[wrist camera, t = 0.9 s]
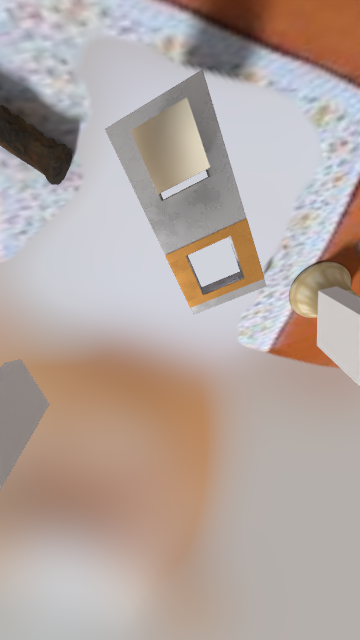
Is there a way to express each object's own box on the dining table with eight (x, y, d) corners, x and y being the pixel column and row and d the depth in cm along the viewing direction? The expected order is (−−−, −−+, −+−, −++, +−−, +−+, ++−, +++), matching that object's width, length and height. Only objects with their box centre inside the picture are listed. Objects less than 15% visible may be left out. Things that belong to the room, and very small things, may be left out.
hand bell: (360, 291, 34) (484, 366, 20) (307, 326, 37) (384, 413, 23) (332, 248, 31) (454, 300, 17) (277, 290, 34) (343, 364, 20)
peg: (184, 131, 25) (186, 97, 15) (198, 172, 27) (210, 167, 17) (150, 151, 26) (129, 130, 16) (166, 189, 28) (158, 194, 18)
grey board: (200, 80, 23) (202, 68, 21) (260, 279, 33) (266, 286, 31) (111, 133, 25) (104, 128, 23) (193, 306, 35) (193, 315, 33)
